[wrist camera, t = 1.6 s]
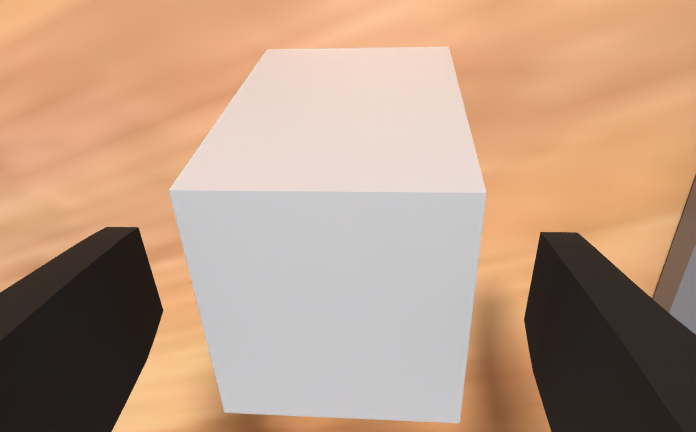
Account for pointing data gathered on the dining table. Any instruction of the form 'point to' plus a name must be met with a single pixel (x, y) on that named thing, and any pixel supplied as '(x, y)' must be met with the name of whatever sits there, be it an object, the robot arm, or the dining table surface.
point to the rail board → (681, 270)
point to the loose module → (337, 236)
